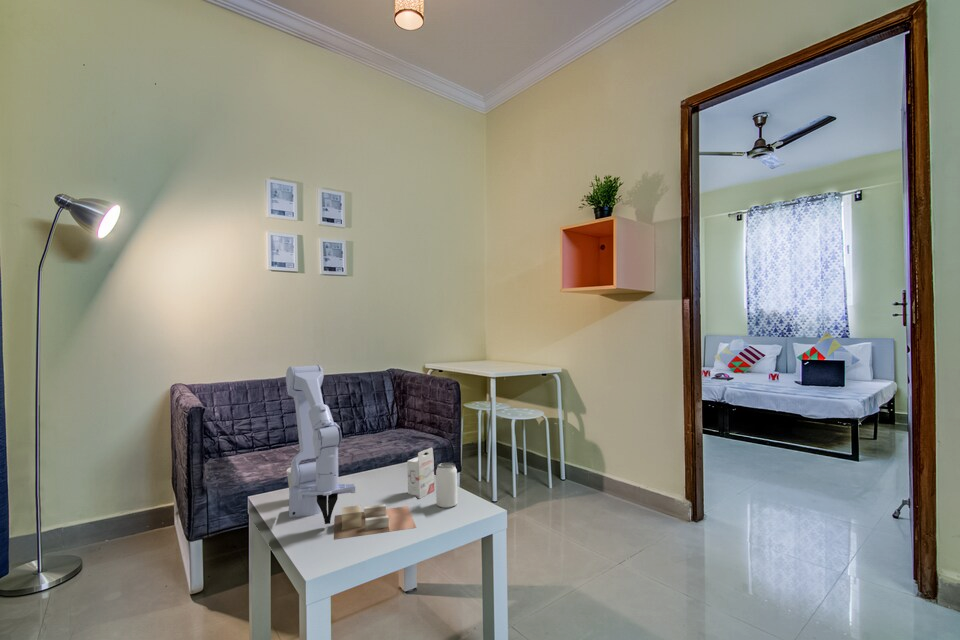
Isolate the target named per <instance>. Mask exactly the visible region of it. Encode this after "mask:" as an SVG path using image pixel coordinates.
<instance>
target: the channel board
mask: <svg viewBox="0 0 960 640" xmlns="http://www.w3.org/2000/svg"><path fill="white" fill-rule="evenodd" d="M361 524H362V527H357V528H350V529H342V514H338V515H336V514H335V515H334V528H333V529H334V530H333V540H334V541H336V540H343V539H348V538H355V537H362V536H369V535H378V534H382V533H390V532H398V531H404V530H412V529H416V528H417V525H416V523H415V521H414V518H413V515H412V513H411V511H410V507H409V506H408V505H406V506H398V507H390V508H387V505H386V504H385V503H383V504H379V505H378V504H377V505H376V504H375V505H367V506H364V507H363V511H361Z"/></svg>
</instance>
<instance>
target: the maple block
mask: <svg viewBox="0 0 960 640" xmlns="http://www.w3.org/2000/svg"><path fill="white" fill-rule="evenodd" d="M361 512H362V506H361V505H360V504H359V505H350V506H344V507H343V506H342V507H341V515H342V529H350V528H357V527H362V524H361Z"/></svg>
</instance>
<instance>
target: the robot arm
mask: <svg viewBox="0 0 960 640" xmlns="http://www.w3.org/2000/svg"><path fill="white" fill-rule="evenodd" d="M324 376H325V375H324V369H323V366H321V365H320V364H316V365H304V366H302V365H301V366H292V365H291V366H290V365H289V366H288V368H287V369H286V373H285V383H286V391H287V395H288V396H290V397H292V398H293V401H294V402H293V403H294V406H295V407H294V408H295V416H296V425H297V435H298V445H299V452H298V453H297V454H296V455H295V456H293V458H292V460H291V462H290V467H291V480H292V483H293V484H294V485H295V486H291V487H290V492H288V493H289V495H288V501H289V502H288V518H296V517H297V518H298V517H311V516H316V515H319V514H320V513H322V517H323V520H324V525H329V524H331V519H332V514H333V511H334V509H335V505H336V503H337V502H338V495H341V494H342V495H344V494H356V484H355V483H346V484H345V483H343V484H342V483H339V447H340V446H341V444H342V439H343V438H342V437H343V435H342V430H341V427H340V425H339V424H337V422H334V419H333V416H332V413H331V410H330V407H329V405H328V404H324V400H323V394H322V389H321V387H322V385H323V380H324Z"/></svg>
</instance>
